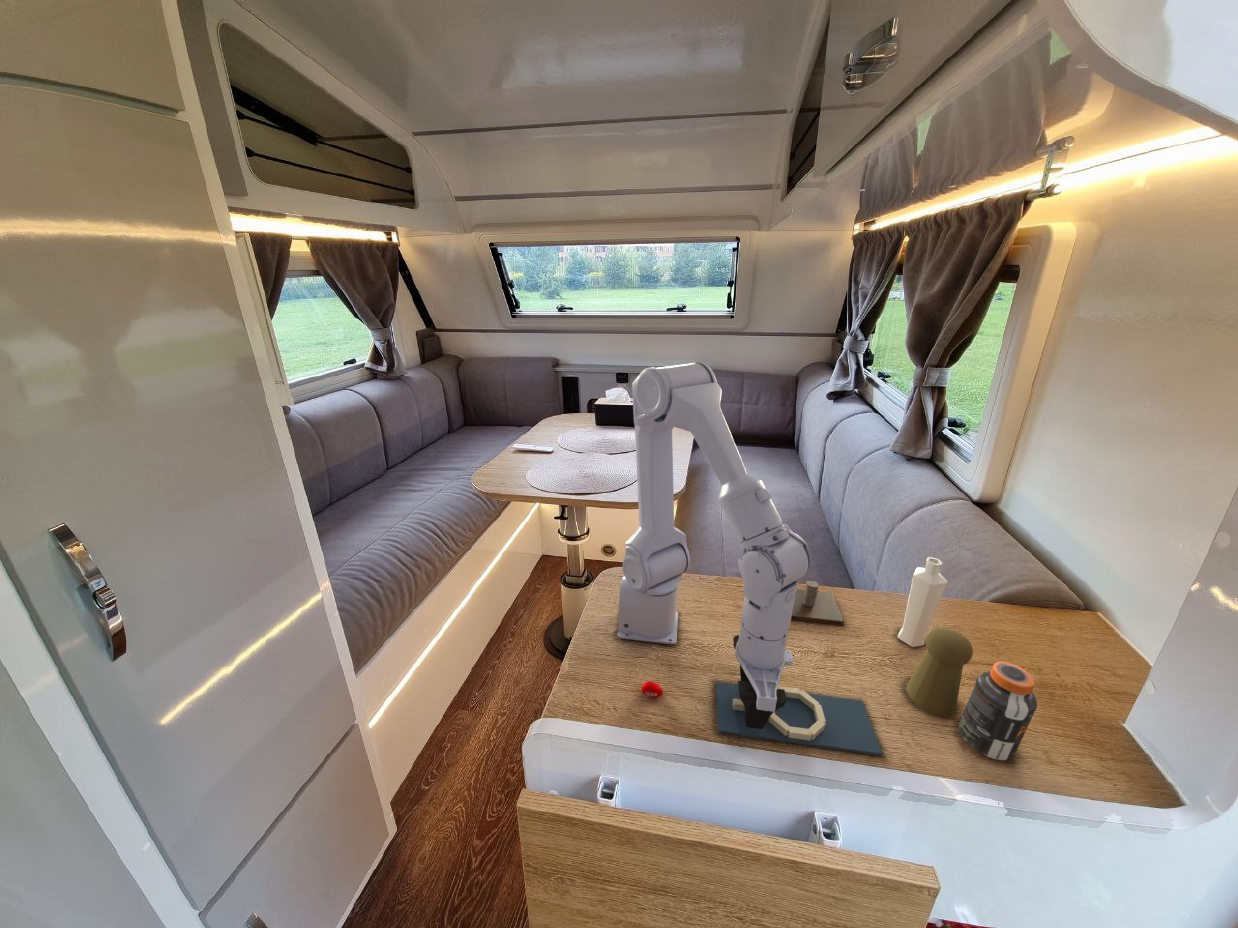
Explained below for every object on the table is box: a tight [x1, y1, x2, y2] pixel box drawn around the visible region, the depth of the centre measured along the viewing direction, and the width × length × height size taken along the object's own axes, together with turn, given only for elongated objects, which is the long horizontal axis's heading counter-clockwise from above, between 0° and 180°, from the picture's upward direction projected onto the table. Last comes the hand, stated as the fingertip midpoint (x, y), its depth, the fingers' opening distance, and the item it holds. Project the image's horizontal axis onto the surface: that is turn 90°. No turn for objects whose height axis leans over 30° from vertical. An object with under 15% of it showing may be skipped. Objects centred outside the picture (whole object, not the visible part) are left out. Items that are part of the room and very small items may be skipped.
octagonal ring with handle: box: [732, 686, 826, 741], centre depth 63 cm, size 12×7×3 cm, turn 81°
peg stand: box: [791, 580, 845, 626], centre depth 84 cm, size 14×8×5 cm, turn 81°
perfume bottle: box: [897, 556, 949, 648], centre depth 75 cm, size 5×4×15 cm
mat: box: [715, 681, 884, 757], centre depth 63 cm, size 20×8×1 cm, turn 81°
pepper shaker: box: [905, 627, 974, 717], centre depth 65 cm, size 6×6×11 cm
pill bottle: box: [958, 661, 1038, 761], centre depth 59 cm, size 6×6×11 cm
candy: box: [641, 681, 664, 698], centre depth 66 cm, size 3×2×2 cm, turn 82°
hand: (751, 704), depth 64 cm, fingers open, 6 cm apart
